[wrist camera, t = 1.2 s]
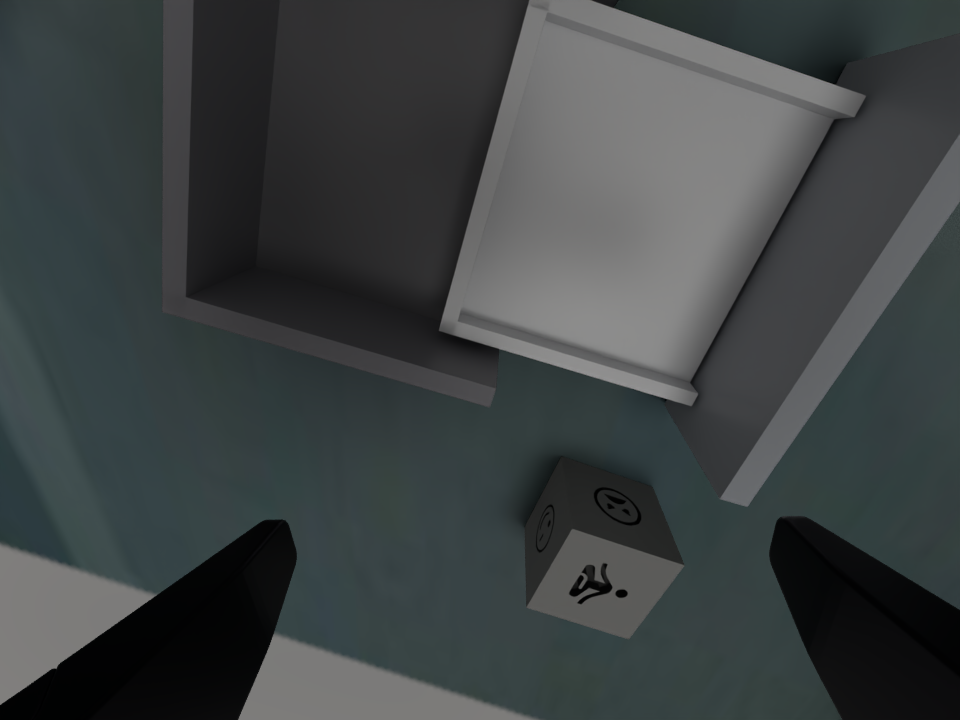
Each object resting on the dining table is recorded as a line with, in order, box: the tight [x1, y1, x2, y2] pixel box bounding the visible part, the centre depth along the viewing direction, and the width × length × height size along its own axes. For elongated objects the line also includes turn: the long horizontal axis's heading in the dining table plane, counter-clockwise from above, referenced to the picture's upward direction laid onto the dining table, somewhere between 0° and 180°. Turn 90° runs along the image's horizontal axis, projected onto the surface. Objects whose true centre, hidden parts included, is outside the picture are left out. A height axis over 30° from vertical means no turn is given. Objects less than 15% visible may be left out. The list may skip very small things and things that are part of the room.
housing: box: [162, 0, 618, 407], centre depth 16 cm, size 12×14×5 cm
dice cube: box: [525, 456, 685, 639], centre depth 22 cm, size 5×5×5 cm
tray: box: [439, 0, 960, 507], centre depth 16 cm, size 12×14×6 cm
